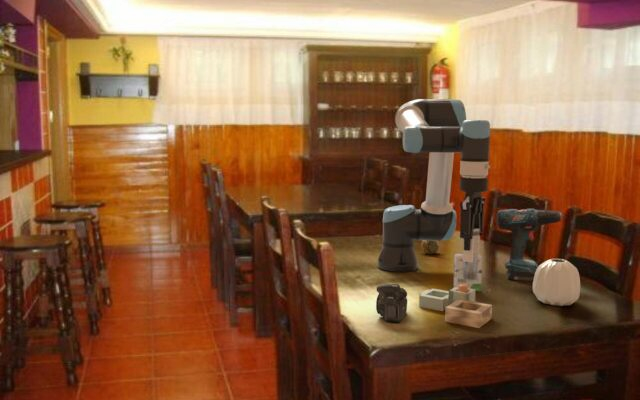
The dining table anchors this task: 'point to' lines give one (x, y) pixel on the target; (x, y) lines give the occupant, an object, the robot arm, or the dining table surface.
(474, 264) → the metal peg
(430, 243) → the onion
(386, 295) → the camera
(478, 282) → the ink box
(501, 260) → the dining table surface
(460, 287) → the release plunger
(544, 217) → the power drill
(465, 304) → the block
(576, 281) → the vase
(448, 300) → the socket block
